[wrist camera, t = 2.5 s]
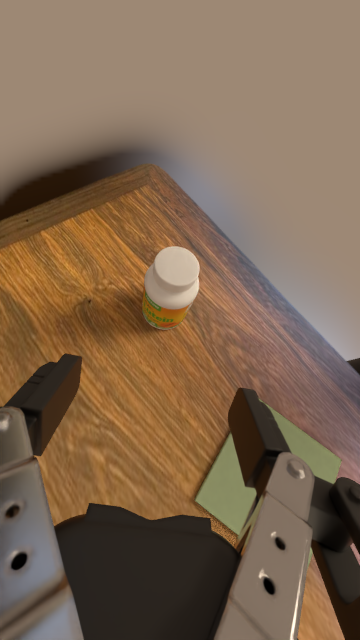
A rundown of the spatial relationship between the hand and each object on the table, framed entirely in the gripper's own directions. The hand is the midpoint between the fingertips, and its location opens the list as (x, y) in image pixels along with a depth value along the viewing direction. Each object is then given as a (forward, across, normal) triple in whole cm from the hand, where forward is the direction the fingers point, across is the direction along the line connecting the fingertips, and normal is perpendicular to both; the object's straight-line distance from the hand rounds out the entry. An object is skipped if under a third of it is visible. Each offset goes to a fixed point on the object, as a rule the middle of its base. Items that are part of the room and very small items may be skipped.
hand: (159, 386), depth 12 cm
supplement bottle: (+18, 0, +3) cm, 18 cm away
